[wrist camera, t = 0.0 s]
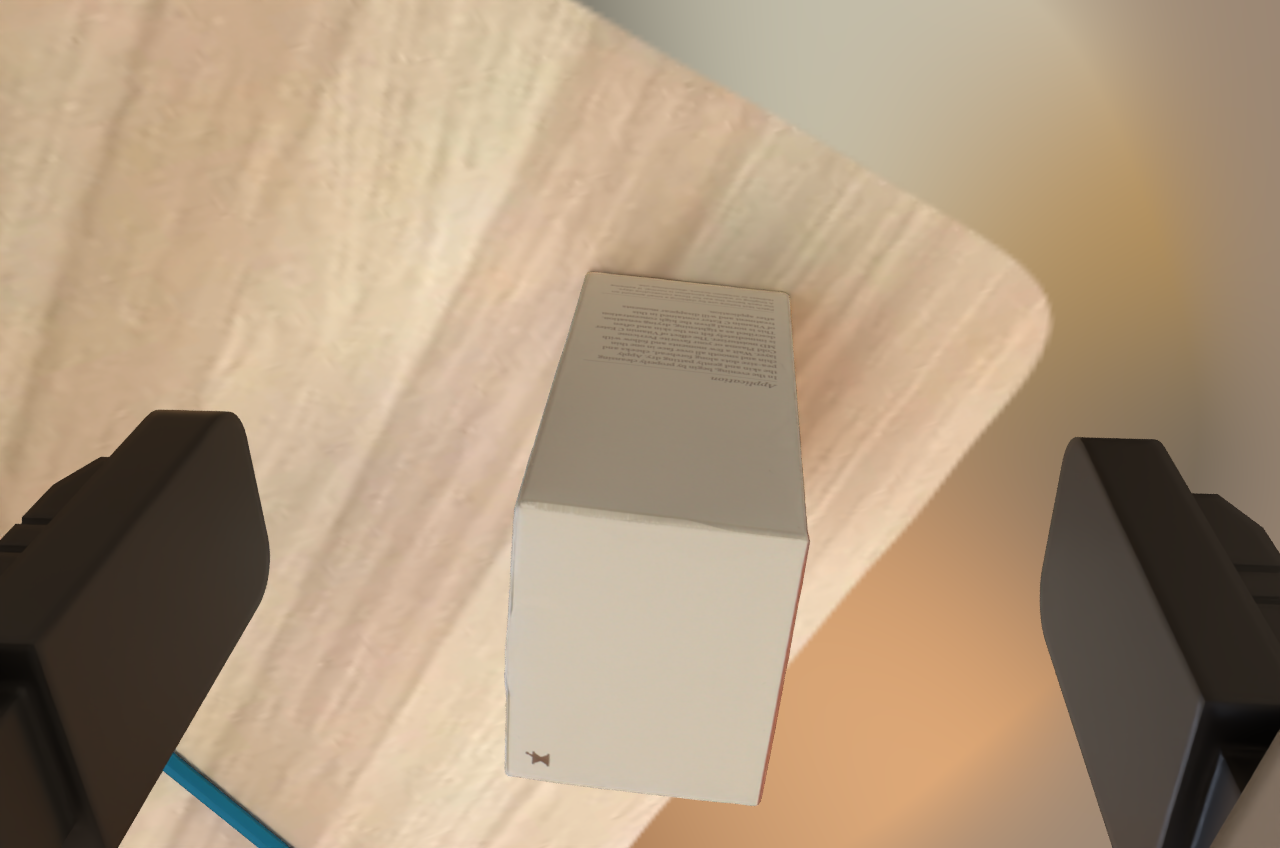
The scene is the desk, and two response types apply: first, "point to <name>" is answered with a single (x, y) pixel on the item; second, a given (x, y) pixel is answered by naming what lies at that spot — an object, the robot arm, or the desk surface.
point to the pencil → (221, 804)
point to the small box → (659, 545)
